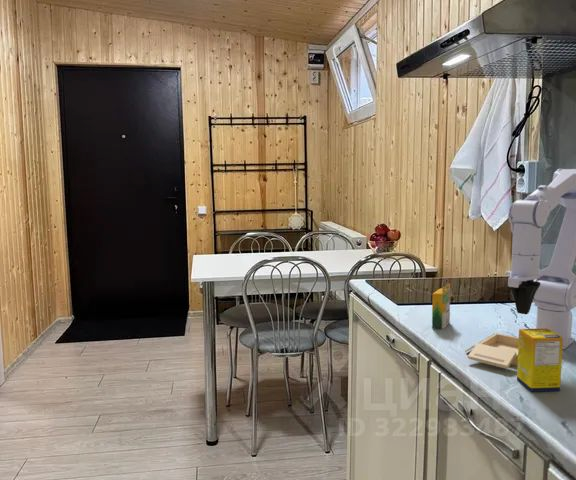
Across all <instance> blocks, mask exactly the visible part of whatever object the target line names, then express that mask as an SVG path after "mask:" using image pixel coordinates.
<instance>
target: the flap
mask: <svg viewBox="0 0 576 480" xmlns="http://www.w3.org/2000/svg"><path fill="white" fill-rule="evenodd" d="M515 356H516V352H514V351H510V350H506V349H501V348H497V347H492V346H488V345H484V344H479V342H477V343H476V344H475V347H474V348H472V349H471V351H470V352H469V354H468V355H467V359H468V360H471V361H475V362H479V363H484V364H487V365H490V366H494V367H495V366H496V367H499V368H504V369H507V370H508V369H509V367H510V366H511V365H510V364H511V363H512V361H513V359H514V358H515Z"/></svg>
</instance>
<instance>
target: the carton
mask: <svg viewBox="0 0 576 480" xmlns="http://www.w3.org/2000/svg"><path fill="white" fill-rule="evenodd" d="M478 343H479V344H484V345H488V346H492V347H497V348H501V349H506V350H510V351H514V352H516V356H515V358H514V359H513V361H512V363H511V364H510V366H514V367H518V344H519V337H517V336H513V335H512V336H511V335H508V334H507V335H506V334H504V333H503V334H502V333H497V332H496V333H493V334H492V335H490V336H487V337H486V338H484V339H483V340H481V341H480V342H478ZM475 345H476V344H475ZM475 345H473V346H470V347H469V348H467V349H466V350H464V351H465V353H466V352H469V351H470V350H472V349H473V348H474V347H475Z"/></svg>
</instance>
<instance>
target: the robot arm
mask: <svg viewBox="0 0 576 480" xmlns="http://www.w3.org/2000/svg"><path fill="white" fill-rule="evenodd" d="M558 205H561V206H562V207H564V208H565V212H564V217H563V220H562V223H561V226H560V229H559V233H558V237H557V240H556V244H555V247H554V250H553V252H552V257H551V261H550V263H549V265H548V266H547V267H545V268H543V269H540V265H541V261H540V260H541V246H542V245H541V244H542V230H543V229H542V227H544V226H545V225H546V223H547V221H548V217H550V213H551V212H552V211H553V210H554V209H555V208H556V207H558ZM508 210H509V211H508V213H507V214H508V215H507V216H508V217H507V218H508V221H509V224H510V227H509V228H510V232H511V234H512V244H511V263H510V264H511V265H510V266H511V267H510V270H506V271H505V275H507V276H509V277H508V278H507V287H509V289H510V291H511V294H512V297H513V299H514V304H515V309H516V313H517V314H521V315H528V314H529V313H530V310H531V307H532V303H534V306H535V307H537V308H536V321H535V323H536V324H535V329H540V328H548V329H550V330H551V331H553V332H555V333H557V334H558V335H560V336H562V337H563V346H562V350H565V349H567V348H568V347H569V346H570V345H571V344H572V343H574V341H576V338H575V337H572V329H573V312H572V310H574V309H575V308H576V274H575V273H574V272H573V268H574V264H575V260H576V168H558V169H557V170H555V171H554V173H553V176H552V181H551V182H550V183H549V184H548V185H545V184H541V185H538V187H537V189H535V190H534V191H532V193H530V194H528V196H526V197H525V198H523V199H517V200H515V201H514V202H512V203H511V205H510V207H509V209H508Z"/></svg>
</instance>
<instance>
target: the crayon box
mask: <svg viewBox="0 0 576 480" xmlns="http://www.w3.org/2000/svg"><path fill="white" fill-rule="evenodd" d="M431 301H432V302H431V303H432V304H431V305H432V307H431V309H432V310H431V311H432V313H431V317H432V318H431V323H432V325H431V328H432V329H437V330H443V329H444V328H445V327H447V325H449V324H450V323H451V320H450V317H451V314H450V313H451V282H450V283H447V284H446V285H445V286H443V287H441V288H439V289H437V290H436V291H435V292H433V293H432V300H431Z"/></svg>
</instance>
